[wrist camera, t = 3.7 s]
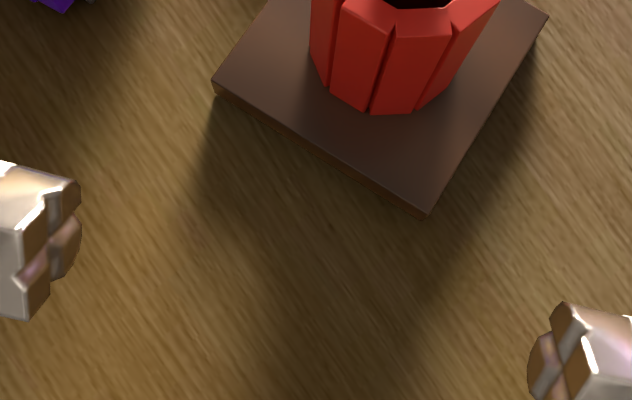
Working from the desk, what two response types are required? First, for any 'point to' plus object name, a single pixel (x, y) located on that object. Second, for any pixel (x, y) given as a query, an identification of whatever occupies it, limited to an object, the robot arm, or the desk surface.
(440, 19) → the ring
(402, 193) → the ring holder
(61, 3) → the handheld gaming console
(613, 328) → the robot arm
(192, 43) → the desk surface
